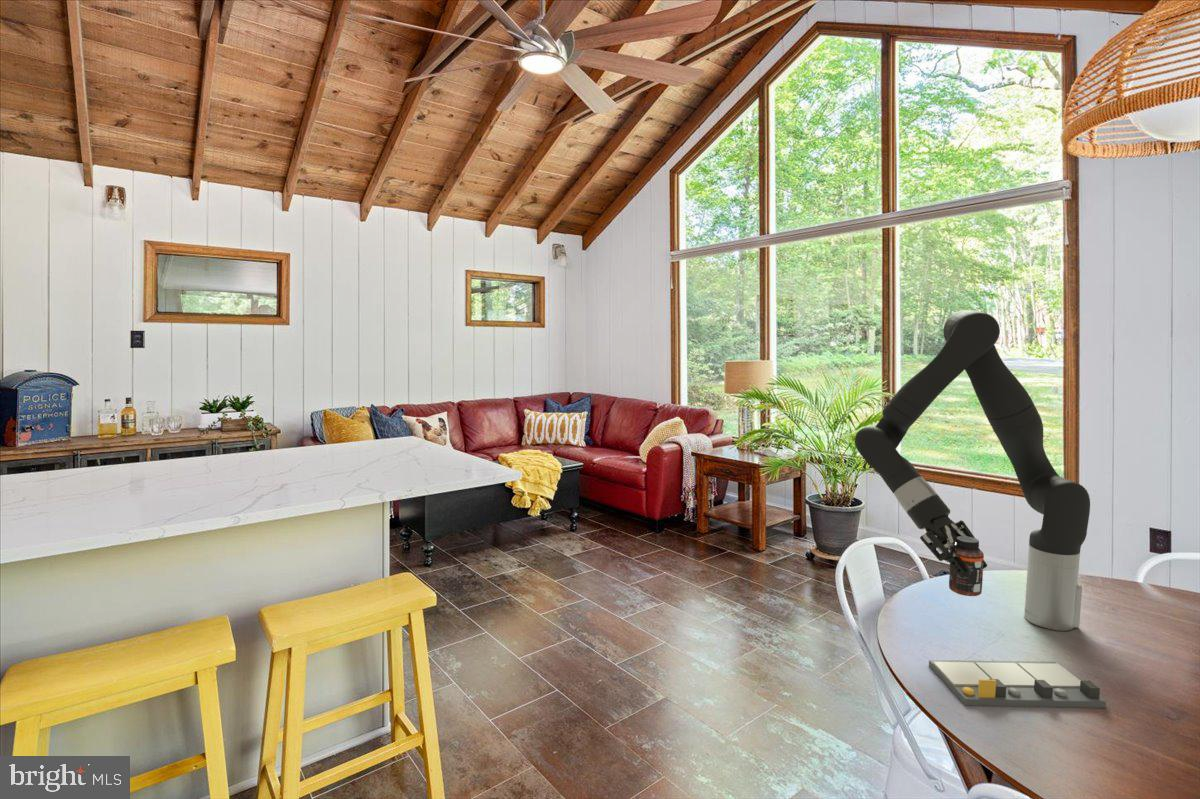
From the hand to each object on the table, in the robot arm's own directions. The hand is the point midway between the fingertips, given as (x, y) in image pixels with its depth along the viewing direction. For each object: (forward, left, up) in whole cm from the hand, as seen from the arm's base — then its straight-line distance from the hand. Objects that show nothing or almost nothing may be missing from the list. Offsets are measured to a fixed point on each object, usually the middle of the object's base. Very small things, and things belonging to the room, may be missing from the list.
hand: (975, 571), depth 126 cm
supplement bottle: (+1, -1, -5) cm, 5 cm away
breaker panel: (0, +14, -16) cm, 21 cm away
